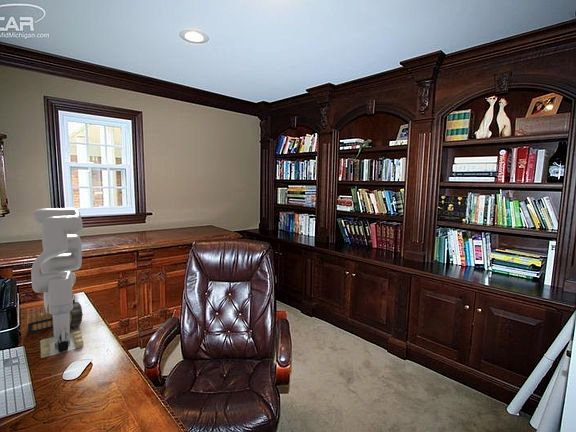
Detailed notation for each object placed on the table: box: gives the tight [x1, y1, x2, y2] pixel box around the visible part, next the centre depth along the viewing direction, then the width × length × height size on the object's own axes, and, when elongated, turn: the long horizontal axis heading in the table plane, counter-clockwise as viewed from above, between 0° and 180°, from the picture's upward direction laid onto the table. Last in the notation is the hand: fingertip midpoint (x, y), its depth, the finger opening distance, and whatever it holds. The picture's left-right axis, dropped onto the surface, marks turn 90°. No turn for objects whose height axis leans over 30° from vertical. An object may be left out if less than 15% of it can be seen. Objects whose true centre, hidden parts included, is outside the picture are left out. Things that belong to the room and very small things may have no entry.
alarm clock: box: [69, 293, 84, 331], centre depth 143 cm, size 11×5×16 cm, turn 48°
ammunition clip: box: [26, 304, 53, 335], centre depth 139 cm, size 11×2×12 cm, turn 135°
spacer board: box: [40, 330, 85, 359], centre depth 128 cm, size 17×14×3 cm
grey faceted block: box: [55, 340, 70, 350], centre depth 125 cm, size 4×5×2 cm
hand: (63, 350), depth 122 cm, fingers closed
